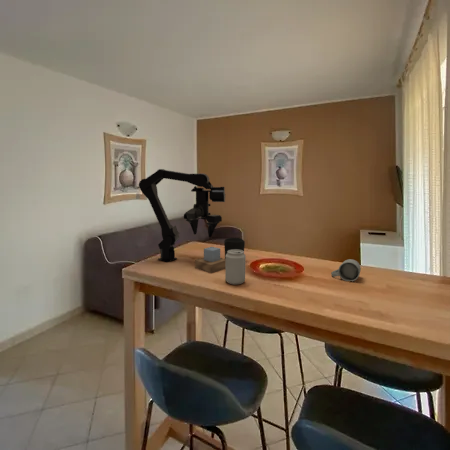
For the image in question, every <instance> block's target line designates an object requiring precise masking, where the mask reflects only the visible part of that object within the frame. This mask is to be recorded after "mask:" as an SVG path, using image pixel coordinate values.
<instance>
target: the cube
mask: <svg viewBox="0 0 450 450" xmlns="http://www.w3.org/2000/svg"><path fill="white" fill-rule="evenodd" d="M203 258H204V260H206V261H210V262H215V261H218V260H220V258H221V247H215V246H209V247H206V248H203Z"/></svg>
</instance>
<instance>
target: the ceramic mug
mask: <svg viewBox="0 0 450 450" xmlns="http://www.w3.org/2000/svg"><path fill="white" fill-rule="evenodd" d="M361 269H362V268H361V265H360V263H359V261H357V260H355V259H350V258H349V259H346V260H344V261H343V262H342V263H341V264H340V265H339V267H338V269H334V270H333V271H331V276H332V278H333V277H340V278H341V279H342V280H343V281H345V282H348V281H352V282H355V281H357V280H358V278H359V277H360V274H361Z"/></svg>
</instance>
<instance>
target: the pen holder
mask: <svg viewBox="0 0 450 450" xmlns="http://www.w3.org/2000/svg"><path fill="white" fill-rule="evenodd" d="M223 243H224V259H226V254H227V253H228V252H227V251H228V250H234V249H235V250H242V251H244V252H245V246H246V245H245V244H246V242H245V240H244V239H243V238H241V237H227V238H225V239H224V241H223Z"/></svg>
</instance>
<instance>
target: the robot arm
mask: <svg viewBox="0 0 450 450" xmlns="http://www.w3.org/2000/svg"><path fill="white" fill-rule="evenodd" d="M163 179H165V180H173V181H179V182H186V183H189V184H191V185H194V186H193V188H192V189H191V191H190V192H192V193H193V192H195V203H194V204H193V207H192V208H190V209H189V210H187V211H185V213H184V214H183V219H184V220H185V221H186V222H188V223H189V224H190V225H189V226H191V230H192V232H193V235H197V232H198V227H199V219H200V220H206V225H207V228H208V229H207V230H208V233H207V234H208V238H212V236H213V233H214V231H215V229H216V228H217V226H218V224H220V222H222V221H223V217H222V215H219V214H211V212H210V211H209V207H211V203H209V201H211V202H212V203H225V202H226V190H225V189H226V188H225V186H214V185H213V184H212V183H211V181H210V176H209V175H207V173H186V172H180V171H174V170H173V171H172V170H169V169H168V170H167V169H164V168H159V169H157V170H156V171H155V172H154V173H152V174H151V175H149V176H147V177H145V178H142V179H141V180H140V181H139V183H138V188H139V189H140V191H141V192H142V195H144V197H146V198H147V200H148V201H149V204H150V206H151V208H152V211H153V212H154V216H155V217H156V219H157V221H158V225H159V226H160V230H161V231H160V232H161V238H162V240H161V241H160V242H159V243H158V249H159V250H160V251H159V252H160V257H159V258H157V261H162V262H166V263H168V262H172V261H175V260H177V259H178V258H177V257H176V255H175V247H174V246H175V244H176V243H177V241H178V240H179V238H180V235H179V234H180V232H179V230H178V228H177V226H176V225H174V226H173V225H172V224H171V222H170V220H169V218H168V216H167V214H166V211H165V209H164V207H163V204H162V202H161V200H160V197H159V195H158V186H157V185H158V184H159V183H161V181H163Z"/></svg>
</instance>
